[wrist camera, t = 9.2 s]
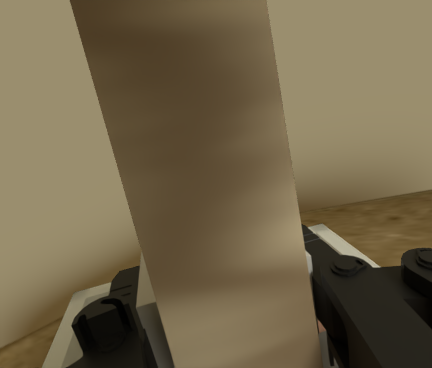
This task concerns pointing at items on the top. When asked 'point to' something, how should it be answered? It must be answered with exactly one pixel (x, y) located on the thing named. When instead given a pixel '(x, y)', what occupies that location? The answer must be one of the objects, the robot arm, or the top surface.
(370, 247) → the top surface
